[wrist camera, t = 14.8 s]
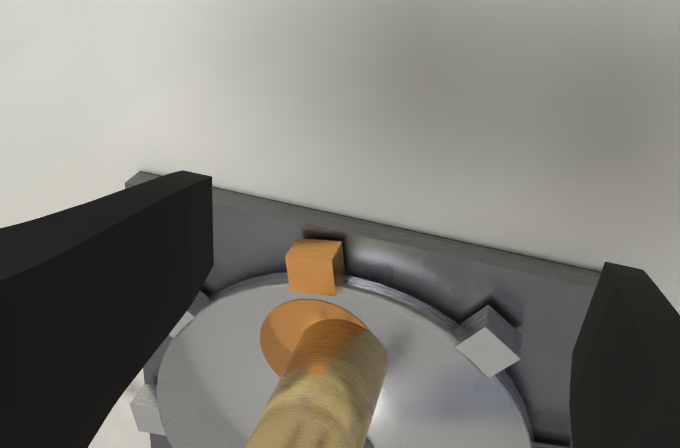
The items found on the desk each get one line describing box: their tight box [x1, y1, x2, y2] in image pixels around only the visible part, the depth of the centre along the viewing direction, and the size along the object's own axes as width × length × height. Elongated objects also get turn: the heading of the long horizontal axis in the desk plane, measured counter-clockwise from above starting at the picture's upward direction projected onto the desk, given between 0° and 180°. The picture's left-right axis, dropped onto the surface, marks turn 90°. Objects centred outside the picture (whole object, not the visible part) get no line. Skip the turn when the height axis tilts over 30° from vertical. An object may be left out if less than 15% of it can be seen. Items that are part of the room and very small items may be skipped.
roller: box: [245, 319, 388, 448], centre depth 20 cm, size 3×3×6 cm
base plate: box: [125, 171, 601, 448], centre depth 27 cm, size 18×18×1 cm
